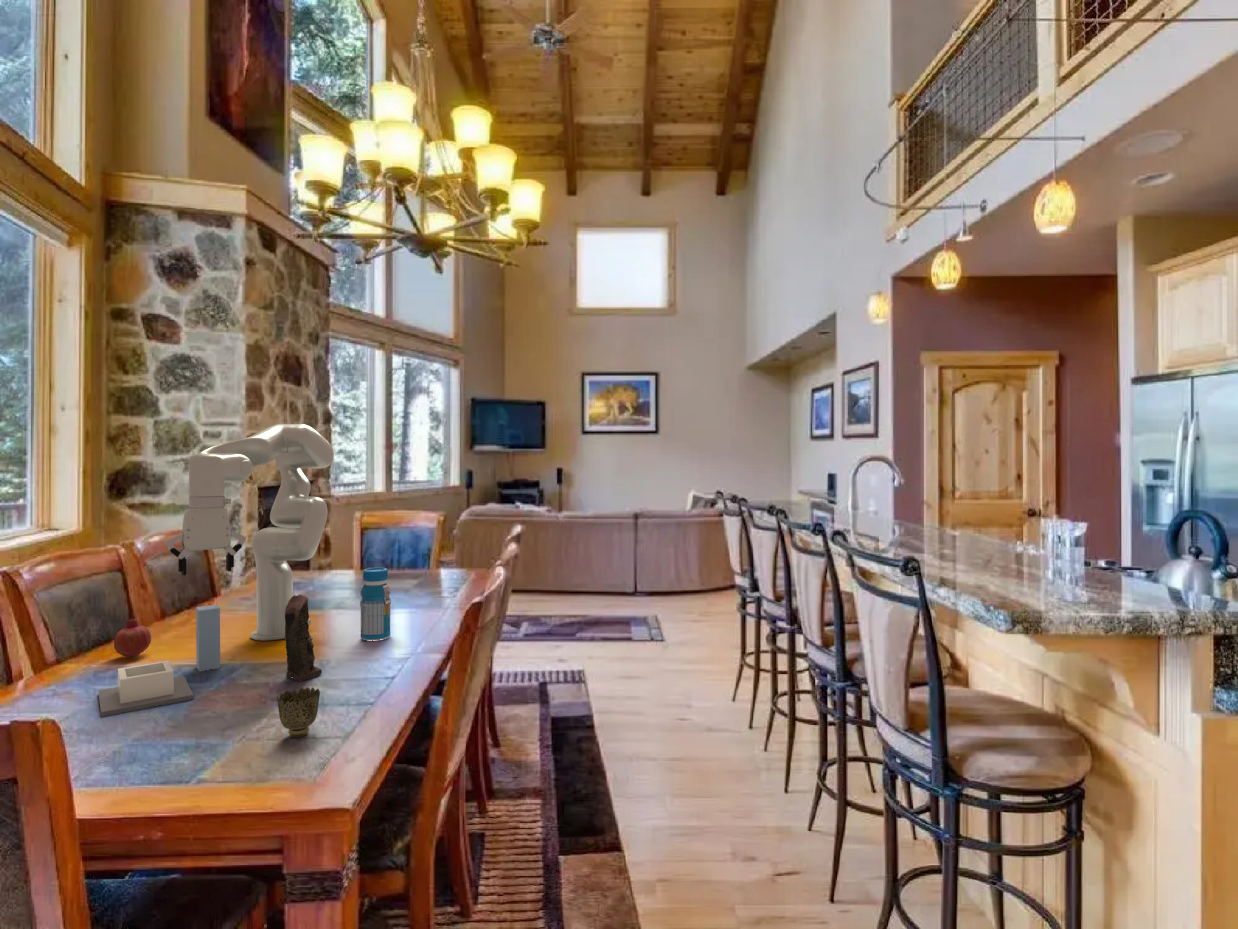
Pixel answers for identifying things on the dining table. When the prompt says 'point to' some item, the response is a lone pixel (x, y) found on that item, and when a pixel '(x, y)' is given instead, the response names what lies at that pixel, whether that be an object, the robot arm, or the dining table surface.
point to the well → (144, 689)
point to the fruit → (132, 639)
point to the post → (208, 637)
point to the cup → (298, 710)
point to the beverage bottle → (375, 605)
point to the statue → (299, 640)
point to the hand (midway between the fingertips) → (206, 572)
